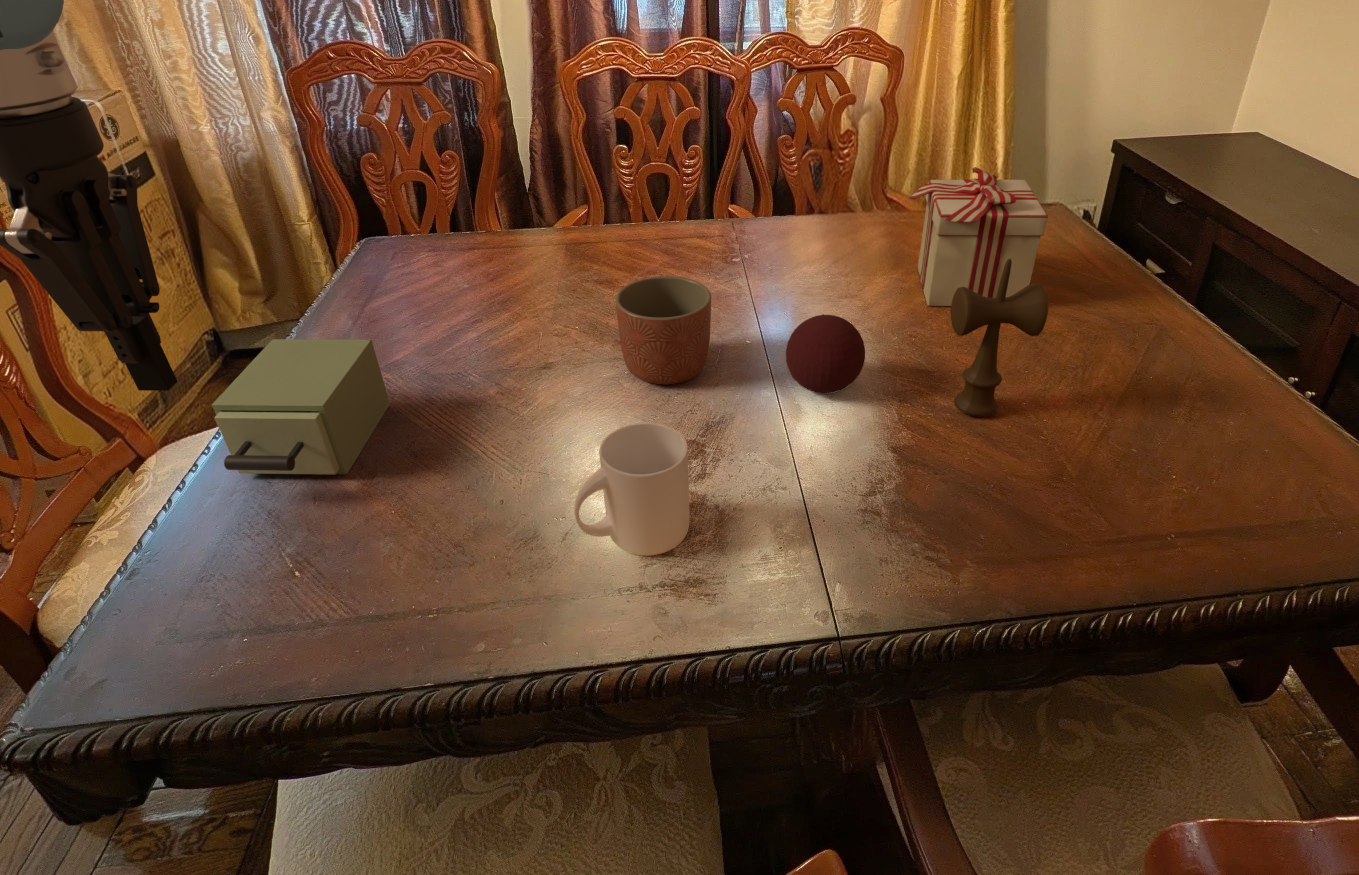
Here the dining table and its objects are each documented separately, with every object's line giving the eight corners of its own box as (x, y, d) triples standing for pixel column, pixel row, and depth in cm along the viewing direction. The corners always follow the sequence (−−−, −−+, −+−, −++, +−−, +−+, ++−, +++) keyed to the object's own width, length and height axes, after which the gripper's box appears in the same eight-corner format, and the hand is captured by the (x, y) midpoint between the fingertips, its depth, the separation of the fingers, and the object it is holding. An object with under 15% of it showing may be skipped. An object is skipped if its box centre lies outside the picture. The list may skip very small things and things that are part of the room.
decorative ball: (858, 413, 100) (867, 343, 94) (778, 403, 102) (782, 334, 96) (863, 371, 108) (872, 304, 102) (789, 363, 110) (793, 297, 104)
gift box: (891, 267, 134) (905, 163, 124) (1003, 266, 133) (1027, 162, 123) (910, 315, 120) (928, 203, 110) (1035, 314, 119) (1065, 201, 109)
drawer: (320, 499, 88) (298, 442, 83) (219, 498, 88) (192, 441, 84) (377, 408, 102) (361, 355, 97) (291, 407, 103) (271, 354, 98)
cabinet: (347, 474, 93) (323, 405, 87) (241, 472, 93) (211, 404, 88) (390, 403, 104) (371, 339, 99) (296, 403, 105) (272, 338, 99)
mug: (565, 528, 84) (553, 446, 78) (668, 493, 88) (664, 413, 82) (595, 581, 78) (584, 497, 72) (704, 541, 82) (703, 459, 76)
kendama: (1021, 421, 98) (1064, 269, 86) (942, 423, 98) (974, 271, 86) (1005, 394, 102) (1043, 246, 91) (929, 396, 103) (958, 248, 91)
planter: (702, 397, 104) (702, 322, 97) (610, 389, 106) (603, 315, 99) (718, 349, 113) (718, 278, 107) (633, 342, 116) (628, 272, 109)
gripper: (4, 129, 51) (156, 429, 65) (128, 81, 62) (236, 348, 76) (-107, 131, 51) (68, 428, 65) (35, 83, 62) (159, 348, 76)
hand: (158, 385), depth 70 cm, fingers closed
